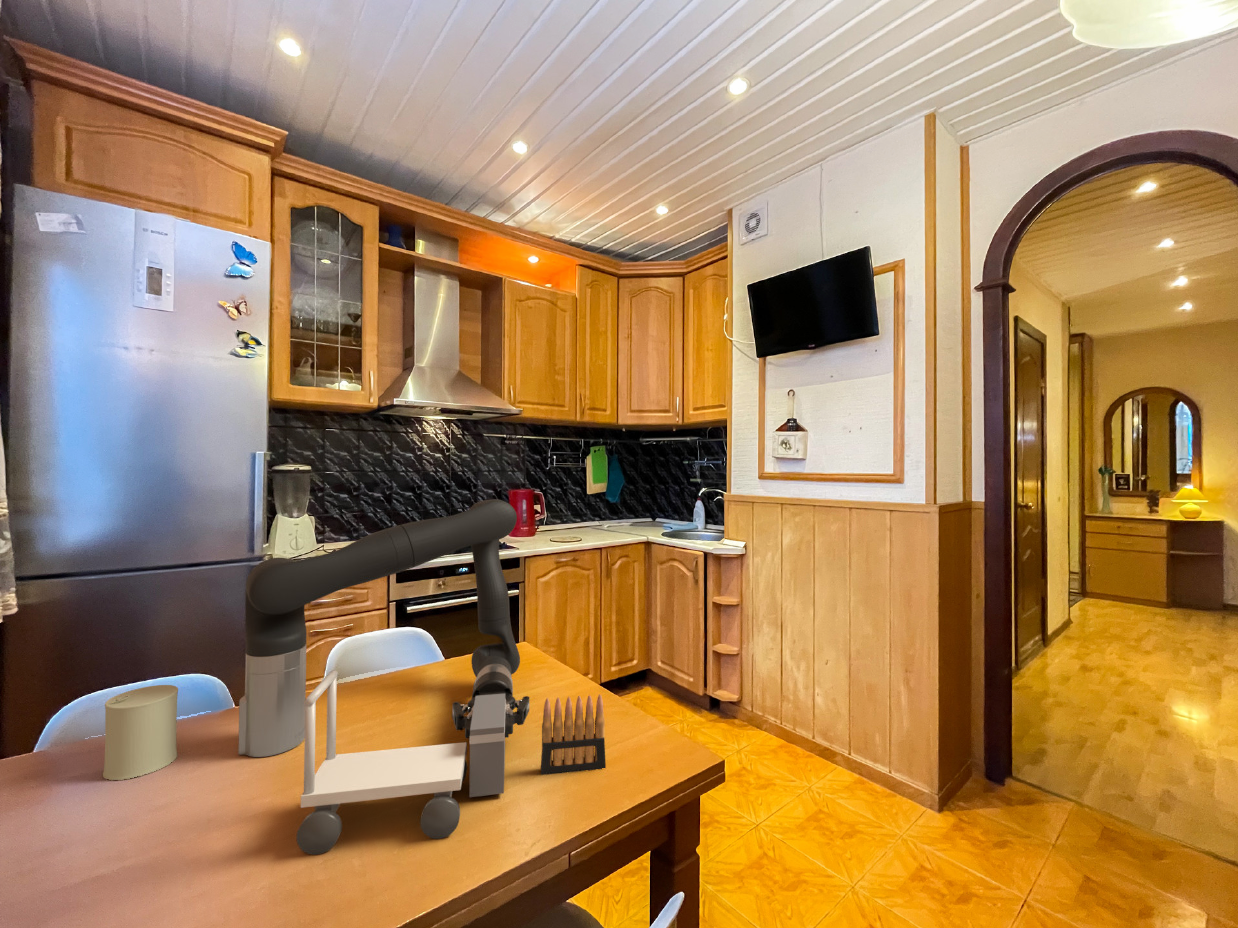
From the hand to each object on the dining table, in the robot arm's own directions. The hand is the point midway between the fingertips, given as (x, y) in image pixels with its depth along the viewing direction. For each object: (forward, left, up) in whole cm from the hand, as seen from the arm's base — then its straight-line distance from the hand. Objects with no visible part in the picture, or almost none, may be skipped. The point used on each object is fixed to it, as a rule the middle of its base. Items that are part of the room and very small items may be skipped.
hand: (489, 733), depth 85 cm
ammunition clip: (+14, 0, -7) cm, 15 cm away
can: (-57, +15, -7) cm, 60 cm away
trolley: (-13, -7, -7) cm, 17 cm away
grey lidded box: (0, 0, -6) cm, 6 cm away
